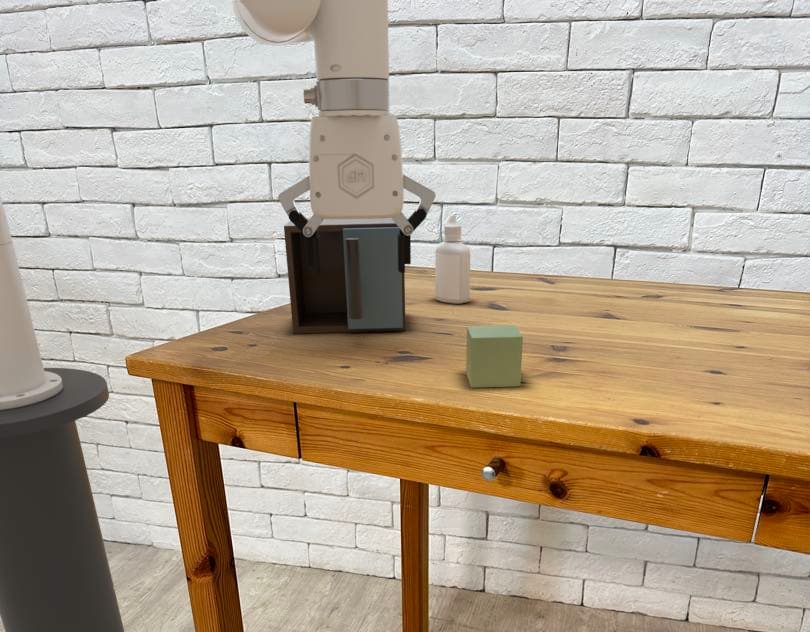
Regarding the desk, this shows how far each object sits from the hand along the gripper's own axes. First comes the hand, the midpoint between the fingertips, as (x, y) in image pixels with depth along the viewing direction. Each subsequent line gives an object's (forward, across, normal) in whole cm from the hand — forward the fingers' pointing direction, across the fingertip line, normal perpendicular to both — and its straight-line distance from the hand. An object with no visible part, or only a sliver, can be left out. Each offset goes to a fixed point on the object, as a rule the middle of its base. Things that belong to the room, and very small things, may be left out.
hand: (359, 271), depth 88 cm
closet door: (+8, +2, +4) cm, 9 cm away
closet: (+9, -2, +12) cm, 15 cm away
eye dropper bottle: (+9, +13, +26) cm, 31 cm away
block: (+8, +14, -16) cm, 22 cm away
